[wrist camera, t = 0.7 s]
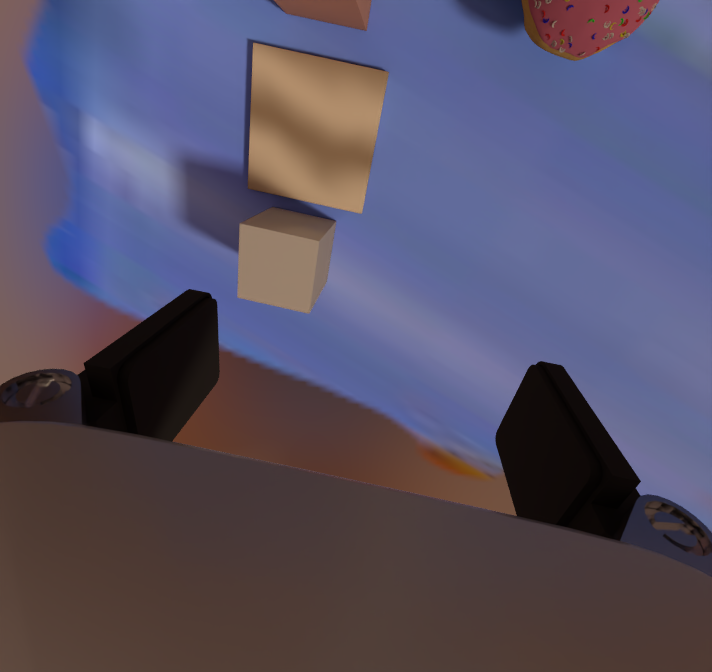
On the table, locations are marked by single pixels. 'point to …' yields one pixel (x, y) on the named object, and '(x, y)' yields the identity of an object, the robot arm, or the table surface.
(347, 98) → the birch board
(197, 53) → the table surface
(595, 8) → the cupcake
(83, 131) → the table surface
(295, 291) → the beige block
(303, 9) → the peach colored cube
